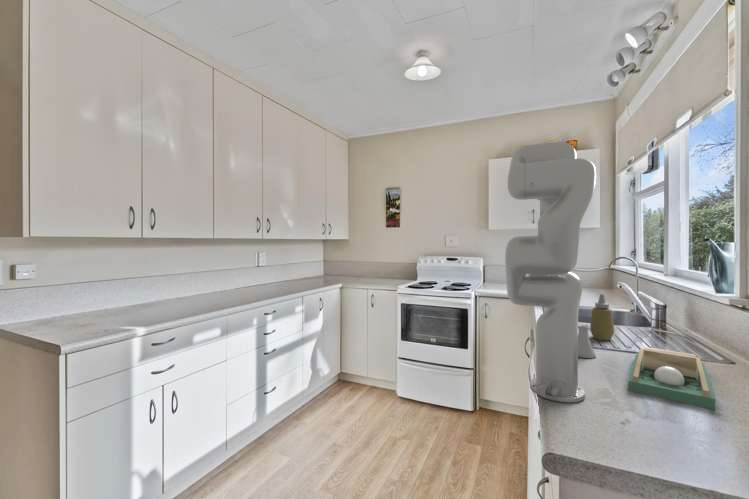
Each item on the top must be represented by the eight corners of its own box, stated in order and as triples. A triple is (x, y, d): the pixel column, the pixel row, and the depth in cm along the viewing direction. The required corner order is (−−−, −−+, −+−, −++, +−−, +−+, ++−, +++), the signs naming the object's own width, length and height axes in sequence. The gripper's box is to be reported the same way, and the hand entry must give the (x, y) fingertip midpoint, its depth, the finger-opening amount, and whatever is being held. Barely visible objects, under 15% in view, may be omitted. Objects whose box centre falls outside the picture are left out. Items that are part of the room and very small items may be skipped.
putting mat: (636, 359, 110) (636, 347, 110) (704, 371, 99) (704, 358, 99) (628, 390, 87) (628, 375, 87) (715, 409, 77) (715, 392, 77)
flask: (600, 359, 111) (600, 329, 111) (579, 359, 111) (578, 329, 111) (587, 352, 118) (587, 323, 118) (566, 352, 118) (566, 324, 118)
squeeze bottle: (591, 335, 139) (591, 292, 139) (615, 338, 134) (615, 293, 134) (588, 339, 133) (588, 294, 133) (613, 343, 128) (613, 296, 128)
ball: (685, 383, 82) (684, 364, 86) (653, 377, 86) (654, 359, 90) (684, 398, 85) (683, 379, 88) (653, 391, 89) (654, 373, 92)
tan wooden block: (644, 364, 98) (644, 346, 98) (695, 373, 91) (695, 354, 91) (643, 368, 95) (643, 350, 95) (696, 378, 88) (696, 358, 88)
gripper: (559, 215, 106) (559, 273, 106) (569, 218, 117) (569, 270, 117) (533, 217, 111) (534, 272, 111) (546, 219, 122) (546, 269, 122)
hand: (552, 271), depth 114 cm, fingers closed
